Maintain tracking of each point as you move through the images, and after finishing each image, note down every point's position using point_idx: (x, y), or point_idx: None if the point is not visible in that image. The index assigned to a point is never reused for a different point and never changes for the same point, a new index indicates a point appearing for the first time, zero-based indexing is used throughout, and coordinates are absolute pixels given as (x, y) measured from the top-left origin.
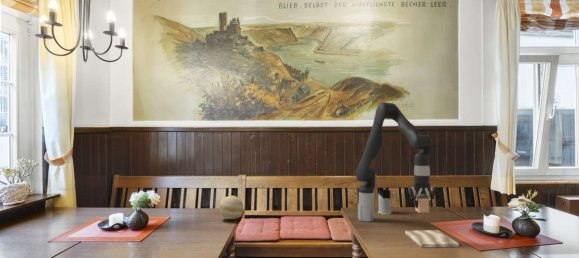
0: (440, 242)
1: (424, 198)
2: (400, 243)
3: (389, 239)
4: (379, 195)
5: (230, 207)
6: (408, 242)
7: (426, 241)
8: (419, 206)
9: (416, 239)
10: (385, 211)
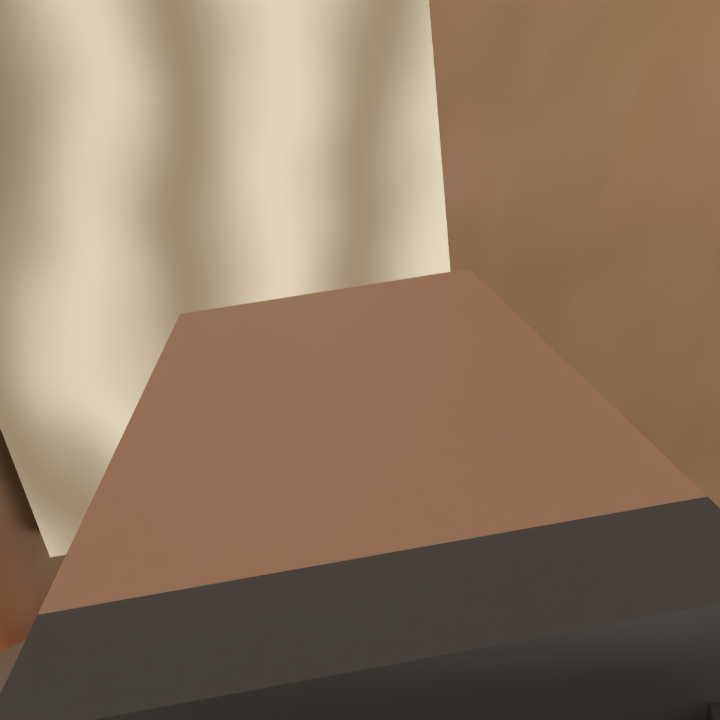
0: (104, 4)
1: (351, 560)
2: (634, 76)
3: (712, 232)
4: None
5: None
6: (519, 128)
7: (306, 46)
8: (517, 327)
9: (425, 135)
10: None
